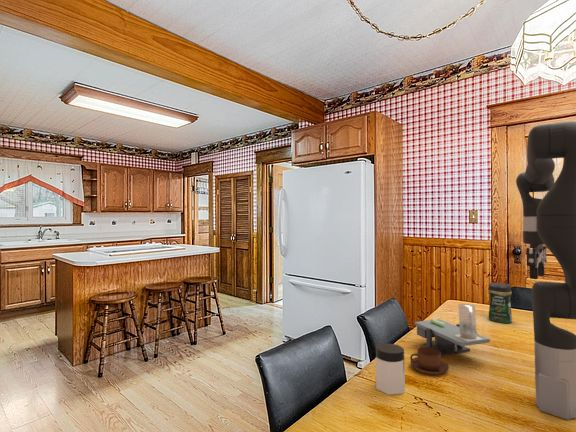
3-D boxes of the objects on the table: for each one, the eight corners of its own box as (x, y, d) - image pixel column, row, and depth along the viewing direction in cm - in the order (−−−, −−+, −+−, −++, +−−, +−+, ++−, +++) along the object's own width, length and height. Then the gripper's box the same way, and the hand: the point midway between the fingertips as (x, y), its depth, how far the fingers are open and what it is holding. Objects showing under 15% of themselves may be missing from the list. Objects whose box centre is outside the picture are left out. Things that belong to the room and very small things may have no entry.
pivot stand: (420, 349, 132) (419, 325, 133) (454, 344, 137) (453, 321, 137) (434, 356, 125) (434, 332, 125) (470, 351, 129) (469, 327, 129)
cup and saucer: (425, 379, 108) (425, 360, 108) (403, 364, 119) (402, 346, 119) (457, 374, 111) (456, 355, 111) (432, 360, 122) (432, 343, 122)
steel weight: (474, 340, 116) (472, 307, 117) (457, 337, 120) (456, 305, 120) (478, 336, 120) (476, 304, 120) (462, 333, 124) (461, 303, 124)
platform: (414, 334, 139) (414, 317, 139) (439, 331, 142) (439, 315, 142) (462, 358, 115) (461, 337, 115) (490, 353, 118) (489, 334, 118)
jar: (399, 380, 107) (398, 342, 107) (411, 393, 99) (410, 352, 99) (371, 382, 106) (370, 343, 106) (381, 396, 98) (380, 354, 98)
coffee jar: (486, 320, 167) (485, 282, 167) (492, 317, 172) (491, 280, 173) (509, 325, 160) (508, 285, 160) (514, 321, 165) (513, 283, 166)
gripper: (544, 230, 109) (545, 281, 109) (554, 229, 118) (555, 276, 118) (516, 230, 114) (518, 278, 114) (528, 229, 124) (530, 273, 124)
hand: (537, 277), depth 116 cm, fingers open, 8 cm apart
